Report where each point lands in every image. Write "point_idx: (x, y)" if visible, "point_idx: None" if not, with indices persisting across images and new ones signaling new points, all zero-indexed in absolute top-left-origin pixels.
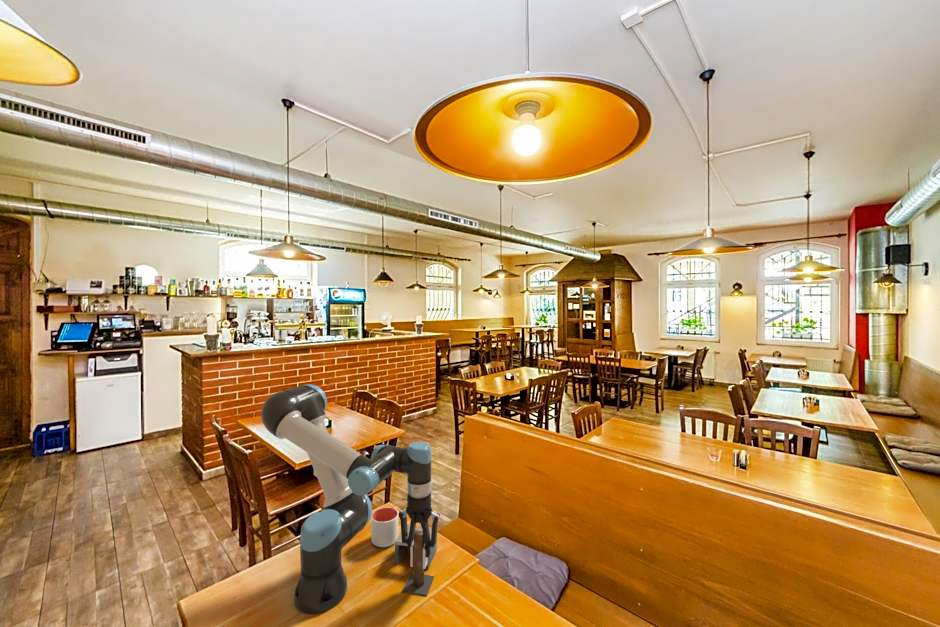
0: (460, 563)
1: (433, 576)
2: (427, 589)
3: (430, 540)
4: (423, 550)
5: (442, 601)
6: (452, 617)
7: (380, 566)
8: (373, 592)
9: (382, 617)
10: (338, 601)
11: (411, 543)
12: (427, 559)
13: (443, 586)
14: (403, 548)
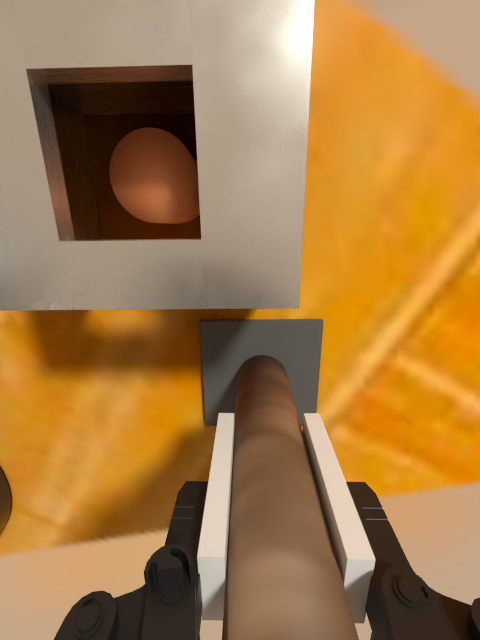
0: (455, 180)
1: (319, 323)
2: (311, 400)
3: (444, 634)
4: None
5: (383, 432)
6: (430, 484)
7: None
8: (97, 443)
9: None
10: (6, 513)
11: (199, 624)
12: (326, 433)
13: (376, 361)
14: (71, 184)
